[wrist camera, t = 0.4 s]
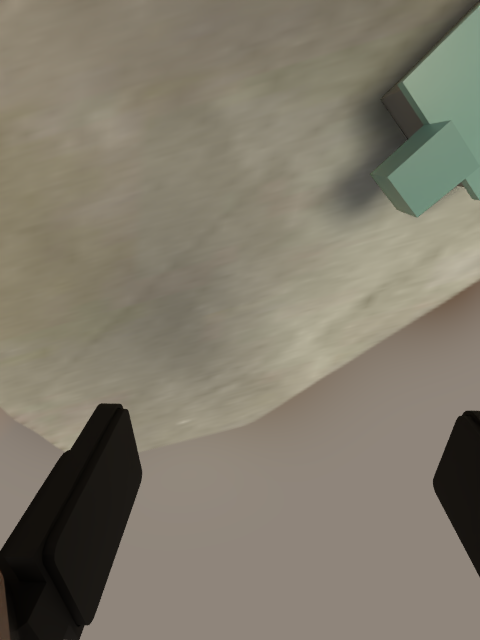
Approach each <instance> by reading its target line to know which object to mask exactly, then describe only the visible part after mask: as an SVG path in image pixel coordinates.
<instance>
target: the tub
mask: <svg viewBox="0 0 480 640" xmlns="http://www.w3.org/2000/svg"><path fill="white" fill-rule="evenodd" d="M479 3H480V1H479V2H478V3H477V4H476V5H475V6H474V7H473V8H472V9H471V10H470V11H469V12H468V13H467V14H466V15H465V16H464V17H463V18H462V19H461V20H460V21H459V22H458V23H457V24H456V25H455V26H454V27H453V28H452V29H451V30H450V31H449V32H448V33H447V34H446V35H445V36H444V37H443V38H441V39H440V40H439V41H438V42H437V43H436V44H435V45H434V46H433V47H432V48H431V49H430V50H429V51H428V52H427V53H426V54H425V55H424V56H423V57H422V58H421V59H420V60H419V61H418V62H417V63H416V64H415V65H414V66H413V67H412V68H411V69H410V70H409V71H408V72H407V73H406V74H405V75H404V76H403V77H402V78H401V79H400V80H399V81H398V82H397V83H396V84H395V85H394V86H393V87H392V88H391V89H390V90H389V91H388V92H387V93H386V94H385V95H384V96H383V97H382V98H381V101H382V102H383V104H384V105H385V106H386V108H387V109H388V111H389V112H390V114H391V115H392V117H393V118H394V120H395V121H396V123H397V124H398V125H399V127H400V128H401V130H402V131H403V133H404V134H405V136H406V137H407V139H409V138H410V137H411V136H412V135H413V134H414V133H416V132H417V131H418V130H419V129H420V128H421V127H422V126H423V123H422V122H421V120H420V119H419V117H418V116H417V114H416V113H415V111H414V110H413V108H412V107H411V105H410V103H409V102H408V100H407V99H406V97H405V96H404V94H403V93H402V91H401V90H400V88H399V87H398V85H397V84H398V83H399V82H400V81H401V80H402V79H403V78H404V77H405V76H406V75H407V74H408V73H409V72H410V71H411V70H412V69H413V68H414V67H415V66H416V65H417V64H418V63H419V62H420V61H421V60H422V59H423V58H424V57H425V56H426V55H427V54H428V53H429V52H430V51H431V50H432V49H434V48H435V47H436V46H437V45H438V44H439V43H440V42H441V41H442V40H443V39H444V38H445V37H446V36H447V35H448V34H449V33H450V32H451V31H452V30H453V29H454V28H455V27H456V26H457V25H458V24H459V23H460V22H461V21H462V20H463V19H464V18H465V17H466V16H467V15H468V14H469V13H470V12H471V11H472V10H473V9H474V8H475V7H476V6H477V5H478V4H479ZM457 186H462V187H464V186H463V184H462V182H461V183H459V184H458V185H457Z"/></svg>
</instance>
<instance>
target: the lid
mask: <svg viewBox="0 0 480 640" xmlns="http://www.w3.org/2000/svg"><path fill="white" fill-rule="evenodd" d="M397 85H398V87H399V88H400V90H401V91H402V93H403V94H404V96H405V97H406V99H407V100H408V102H409V103H410V105H411V107H412V108H413V110H414V111H415V113H416V114H417V116H418V117H419V119H420V120H421V122H422V123H423V126H422V127H421V128H420V129H419V130H418V131H417V132H416V133H414V134H413V135H412V136H411V137H410V138H409V139H408V140H407V141H406V142H405V143H404V144H402V145H401V146H400V147H399V148H398V149H397V150H396V151H395V152H394V153H393V154H392V155H390V156H389V157H388V158H387V159H386V160H385V161H384V162H383V163H382V164H381V165H380V166H378V167H377V168H376V169H375V170H374V171H373V172H372V173H371V174H370V175H371V176H372V178H373V179H374V180H375V182H376V183H377V184H378V186H379V187H380V188H381V190H382V191H383V192H384V194H385V195H386V196H387V197H388V199H389V200H390V201H391V203H392V204H393V205H394V207H395V208H396V209H397V210H399V211H401V212H404V213H407V214H409V215H412V216H414V217H419V216H420V215H421V214H422V213H424V212H425V211H426V210H427V209H429V208H430V207H431V206H432V205H433V204H435V203H436V202H437V201H438V200H440V199H441V198H442V197H443V196H445V195H446V194H447V193H448V192H449V191H451V190H452V189H453V188H454V187H456V186H457V185H458V184H459V183H461V182H462V184H463V186H464V187H465V189H466V190H467V192H468V193H469V195H470V196H471V198H472V199H475V200H480V3H479V4H478V5H477V6H476V7H475V8H474V9H473V10H472V11H471V12H470V13H469V14H468V15H467V16H466V17H465V18H464V19H463V20H462V21H461V22H460V23H459V24H458V25H457V26H456V27H455V28H454V29H453V30H452V31H451V32H450V33H449V34H448V35H447V36H446V37H445V38H444V39H443V40H442V41H441V42H440V43H439V44H438V45H437V46H436V47H435V48H434V49H432V50H431V51H430V52H429V53H428V54H427V55H426V56H425V57H424V58H423V59H422V60H421V61H420V62H419V63H418V64H417V65H416V66H415V67H414V68H413V69H412V70H411V71H410V72H409V73H408V74H407V75H406V76H405V77H404V78H403V79H402V80H401V81H400V82H399V83H398V84H397Z"/></svg>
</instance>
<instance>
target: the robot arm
mask: <svg viewBox="0 0 480 640" xmlns="http://www.w3.org/2000/svg"><path fill="white" fill-rule="evenodd" d="M141 479H142V469H141V464H140V460H139V455H138V451H137V446H136V442H135V437H134V433H133V429H132V424H131V420H130V415H129V412H128V410H127V409H123V406H122V405H121V404H103V403H101V404H99V405H98V406H97V408H96V409H95V411H94V413H93V414H92V416H91V417H90V419H89V421H88V422H87V424H86V425H85V427H84V429H83V430H82V432H81V434H80V435H79V437H78V438H77V440H76V442H75V443H74V445H73V446H72V448H71V450H68V451H66V452H65V453H63V455H62V456H61V457H60V458H59V460H58V461H57V463H56V465H55V467H54V468H53V469H52V471H51V473H50V474H49V476H48V477H47V479H46V480H45V482H44V483H43V485H42V487H41V488H40V490H39V491H38V493H37V494H36V496H35V498H34V499H33V501H32V502H31V504H30V505H29V507H28V508H27V510H26V512H25V513H24V515H23V516H22V518H21V520H20V521H19V522H18V524H17V526H16V527H15V529H14V530H13V532H12V534H11V535H10V537H9V538H8V540H7V541H6V543H5V544H4V546H3V548H2V549H1V551H0V640H79V639H80V636H81V634H82V631H83V628H84V625H89V624H90V623H91V622H92V620H93V618H94V616H95V613H96V610H97V608H98V605H99V602H100V599H101V596H102V593H103V590H104V587H105V584H106V582H107V579H108V576H109V573H110V570H111V567H112V564H113V561H114V559H115V555H116V553H117V550H118V547H119V544H120V541H121V538H122V536H123V533H124V530H125V527H126V524H127V521H128V518H129V515H130V512H131V509H132V507H133V504H134V501H135V498H136V495H137V492H138V489H139V486H140V483H141ZM433 487H434V490H435V493H436V495H437V497H438V498H439V500H440V502H441V504H442V506H443V508H444V510H445V512H446V514H447V516H448V518H449V519H450V521H451V523H452V525H453V527H454V529H455V531H456V533H457V535H458V537H459V539H460V540H461V542H462V544H463V546H464V548H465V550H466V552H467V554H468V556H469V558H470V559H471V561H472V563H473V565H474V567H475V569H476V571H477V573H478V575H479V576H480V411H465V412H464V413H463V415H462V416H459V417H458V418H457V420H456V422H455V425H454V427H453V430H452V432H451V435H450V438H449V440H448V443H447V445H446V448H445V450H444V453H443V455H442V458H441V461H440V463H439V465H438V468H437V471H436V473H435V476H434V479H433Z"/></svg>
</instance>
